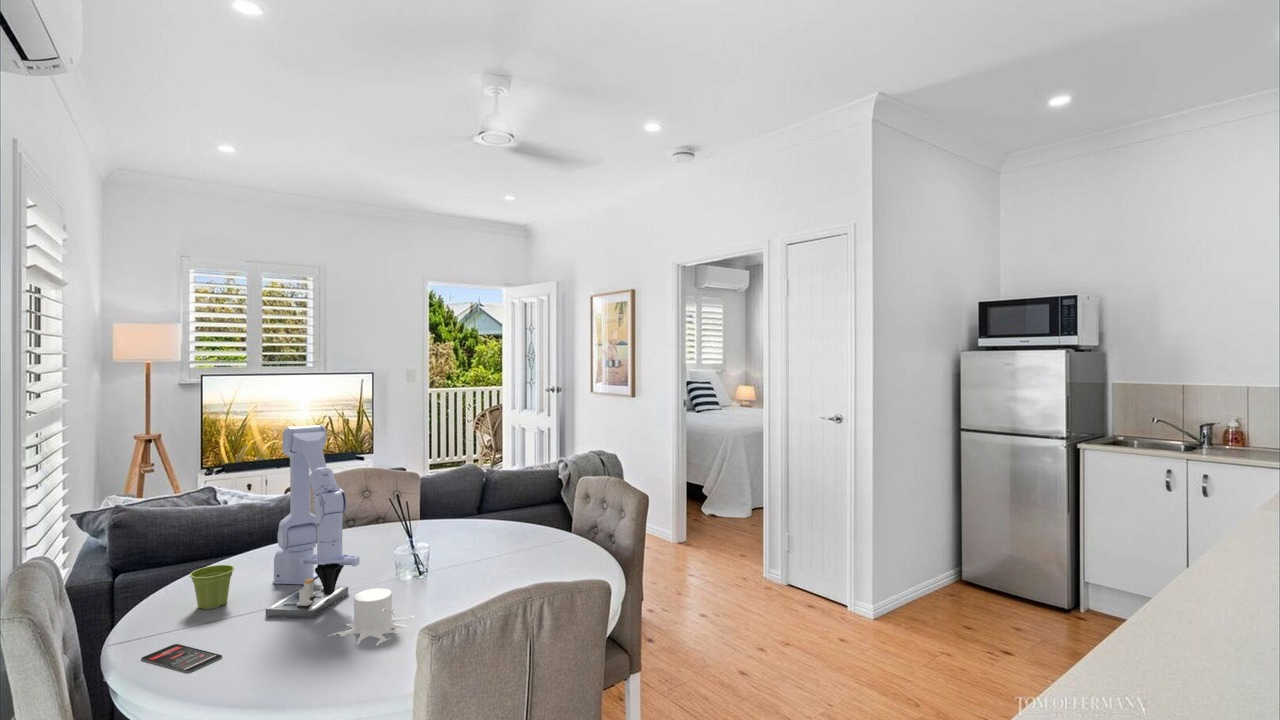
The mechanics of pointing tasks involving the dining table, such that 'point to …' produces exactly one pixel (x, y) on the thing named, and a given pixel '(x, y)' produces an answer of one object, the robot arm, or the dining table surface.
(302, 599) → the block
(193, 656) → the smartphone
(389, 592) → the tree stump
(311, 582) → the breaker mid
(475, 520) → the dining table surface
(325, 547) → the robot arm
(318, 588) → the panel
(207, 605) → the plant pot
